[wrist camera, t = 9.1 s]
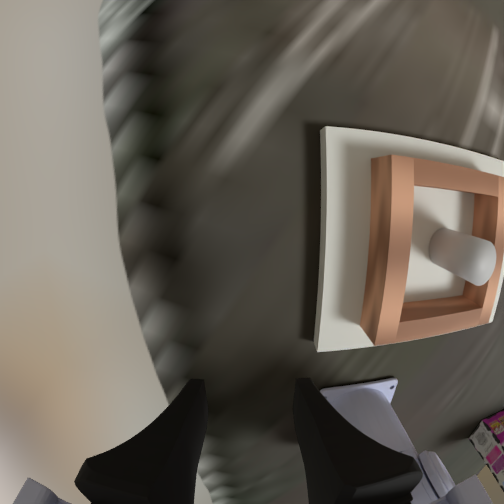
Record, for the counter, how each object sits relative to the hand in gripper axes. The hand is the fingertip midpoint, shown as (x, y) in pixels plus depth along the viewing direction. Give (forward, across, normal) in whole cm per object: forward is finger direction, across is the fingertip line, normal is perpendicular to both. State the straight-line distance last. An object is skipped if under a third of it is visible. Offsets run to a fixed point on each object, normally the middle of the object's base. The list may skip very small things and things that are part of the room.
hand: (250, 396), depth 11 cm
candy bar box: (+10, -42, +27) cm, 51 cm away
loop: (+8, -14, -5) cm, 17 cm away
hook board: (+9, -15, -5) cm, 18 cm away
